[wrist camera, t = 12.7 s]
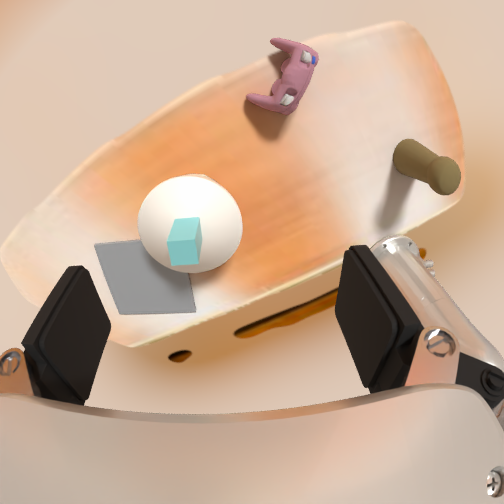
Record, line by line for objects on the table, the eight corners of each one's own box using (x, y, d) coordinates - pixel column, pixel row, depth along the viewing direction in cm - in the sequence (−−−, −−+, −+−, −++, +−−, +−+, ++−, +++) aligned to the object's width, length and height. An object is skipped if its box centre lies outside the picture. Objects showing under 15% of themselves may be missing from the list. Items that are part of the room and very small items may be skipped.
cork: (396, 135, 36) (441, 153, 27) (425, 142, 37) (471, 162, 27) (389, 172, 39) (430, 199, 30) (418, 177, 40) (460, 204, 30)
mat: (181, 236, 42) (181, 237, 42) (196, 309, 50) (195, 311, 50) (95, 243, 42) (94, 245, 41) (120, 312, 50) (119, 314, 49)
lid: (239, 170, 32) (241, 188, 26) (244, 265, 39) (247, 296, 33) (130, 181, 31) (111, 201, 26) (151, 271, 38) (140, 302, 33)
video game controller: (268, 110, 35) (300, 123, 31) (240, 100, 33) (270, 111, 28) (295, 48, 31) (331, 53, 26) (269, 34, 28) (304, 35, 23)
